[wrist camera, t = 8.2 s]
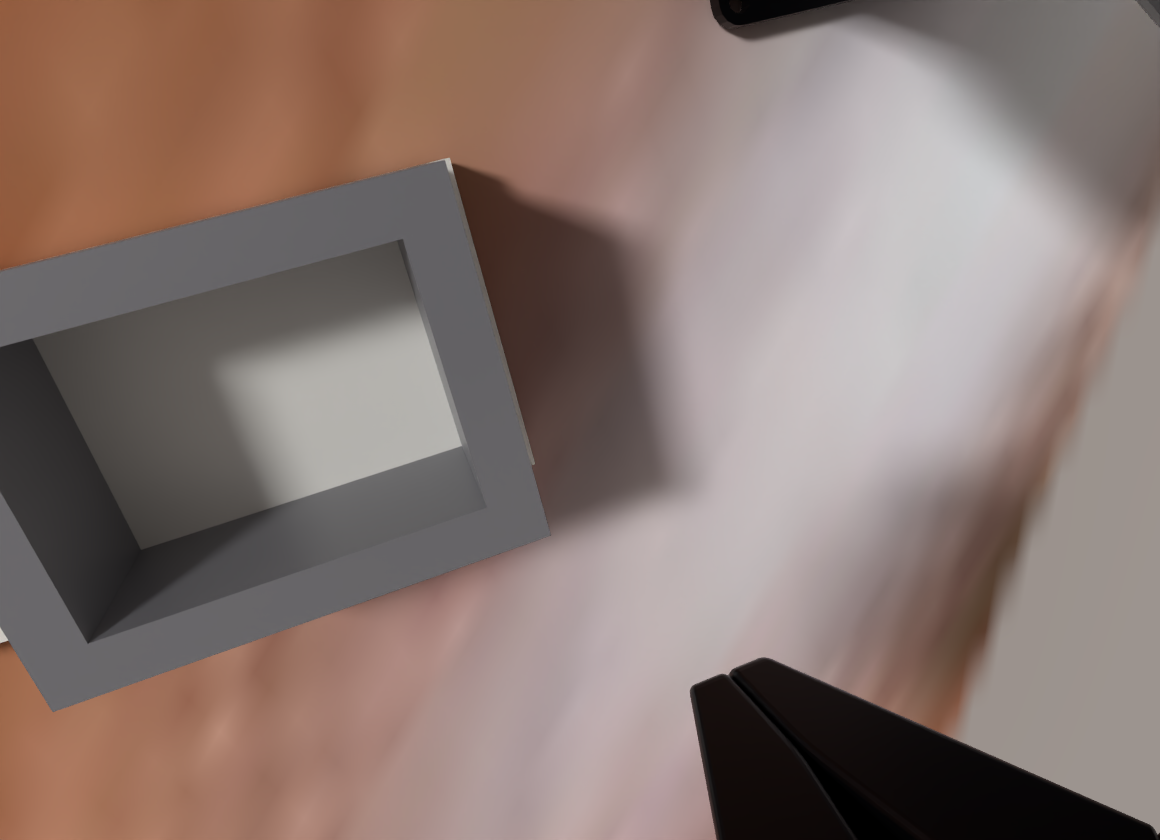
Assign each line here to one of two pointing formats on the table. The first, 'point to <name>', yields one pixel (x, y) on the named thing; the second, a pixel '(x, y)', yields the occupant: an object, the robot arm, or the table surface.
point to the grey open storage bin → (249, 429)
